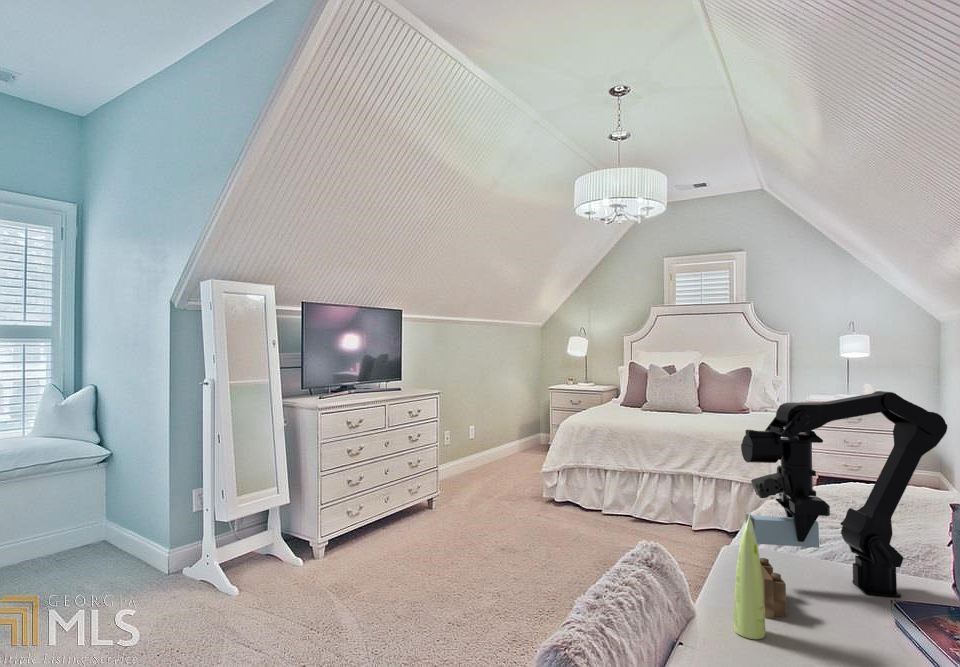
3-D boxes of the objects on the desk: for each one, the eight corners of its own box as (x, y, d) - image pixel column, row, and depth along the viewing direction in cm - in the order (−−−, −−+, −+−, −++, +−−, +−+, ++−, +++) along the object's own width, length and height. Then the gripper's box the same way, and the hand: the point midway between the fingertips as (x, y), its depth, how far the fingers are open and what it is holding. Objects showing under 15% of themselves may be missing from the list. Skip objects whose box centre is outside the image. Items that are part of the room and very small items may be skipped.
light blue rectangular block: (813, 542, 116) (812, 517, 117) (819, 547, 113) (818, 522, 114) (746, 538, 119) (745, 514, 120) (749, 543, 116) (749, 518, 116)
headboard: (767, 589, 114) (766, 554, 115) (788, 620, 101) (787, 581, 101) (746, 587, 115) (746, 553, 116) (765, 618, 102) (764, 579, 102)
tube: (775, 640, 93) (772, 522, 94) (749, 643, 92) (747, 524, 93) (751, 624, 99) (749, 513, 100) (726, 627, 98) (724, 515, 99)
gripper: (744, 454, 127) (745, 523, 127) (766, 469, 109) (768, 550, 108) (797, 456, 125) (799, 527, 124) (830, 472, 107) (831, 555, 106)
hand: (797, 538), depth 116 cm, fingers closed on light blue rectangular block, 3 cm apart
